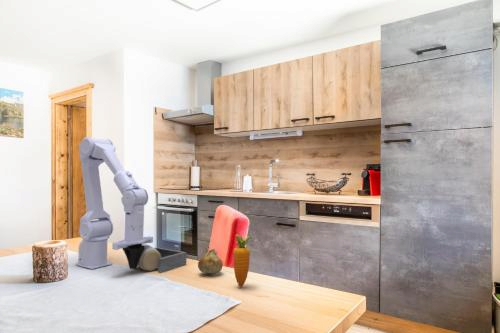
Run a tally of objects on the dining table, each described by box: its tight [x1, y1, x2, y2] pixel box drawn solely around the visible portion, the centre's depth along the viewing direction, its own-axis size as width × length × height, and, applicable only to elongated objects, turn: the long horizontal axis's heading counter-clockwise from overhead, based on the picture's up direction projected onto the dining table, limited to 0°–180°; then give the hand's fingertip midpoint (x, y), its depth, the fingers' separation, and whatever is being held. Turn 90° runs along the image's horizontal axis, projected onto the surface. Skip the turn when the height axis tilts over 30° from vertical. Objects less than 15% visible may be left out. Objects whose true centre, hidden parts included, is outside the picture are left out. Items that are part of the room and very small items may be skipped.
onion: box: [197, 248, 224, 276], centre depth 108 cm, size 8×8×8 cm
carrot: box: [233, 234, 251, 288], centre depth 96 cm, size 5×5×15 cm
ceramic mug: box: [137, 243, 161, 272], centre depth 113 cm, size 11×8×8 cm
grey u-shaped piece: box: [153, 246, 188, 274], centre depth 117 cm, size 14×12×4 cm
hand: (133, 268), depth 108 cm, fingers closed
